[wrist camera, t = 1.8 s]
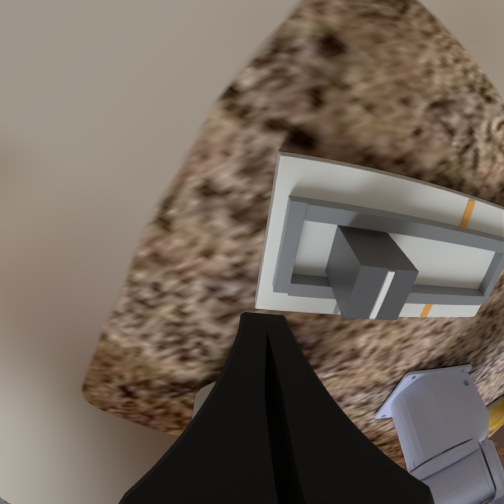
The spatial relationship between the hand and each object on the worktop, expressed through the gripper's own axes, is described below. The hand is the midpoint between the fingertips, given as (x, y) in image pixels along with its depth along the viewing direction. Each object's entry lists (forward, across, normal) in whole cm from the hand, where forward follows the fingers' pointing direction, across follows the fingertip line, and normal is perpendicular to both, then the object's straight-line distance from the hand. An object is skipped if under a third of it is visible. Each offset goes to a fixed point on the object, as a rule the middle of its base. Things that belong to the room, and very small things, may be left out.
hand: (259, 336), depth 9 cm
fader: (+7, -6, 0) cm, 9 cm away
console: (+8, -10, 0) cm, 13 cm away
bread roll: (+8, -45, +27) cm, 53 cm away
